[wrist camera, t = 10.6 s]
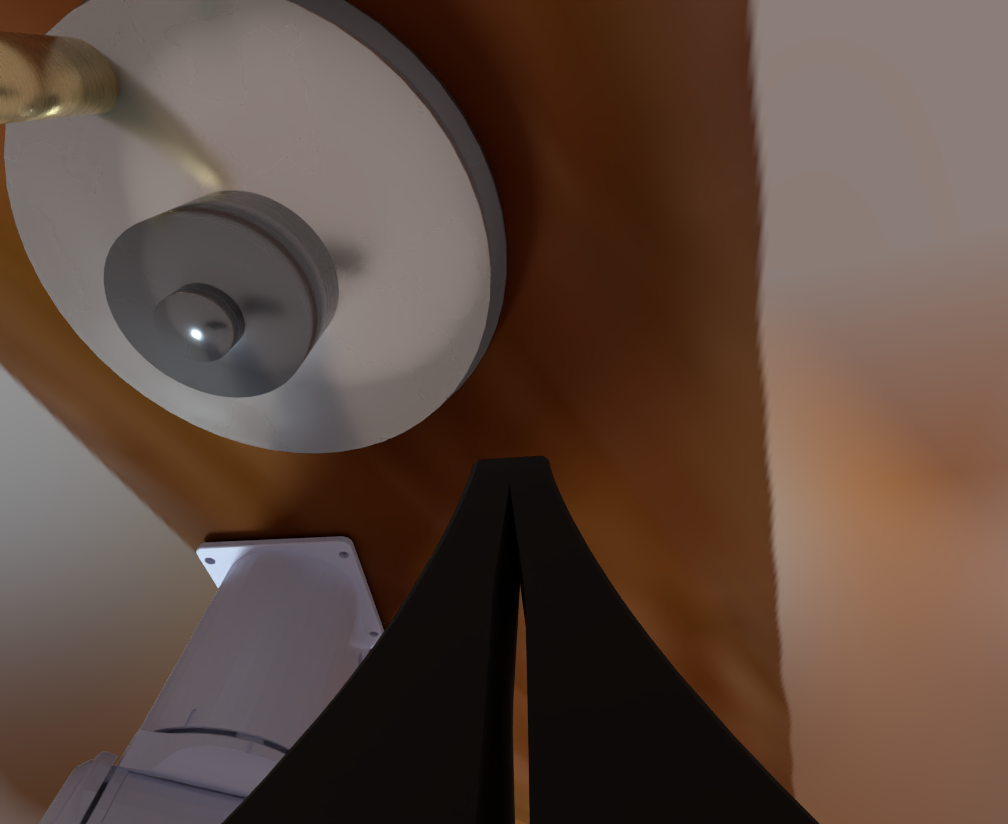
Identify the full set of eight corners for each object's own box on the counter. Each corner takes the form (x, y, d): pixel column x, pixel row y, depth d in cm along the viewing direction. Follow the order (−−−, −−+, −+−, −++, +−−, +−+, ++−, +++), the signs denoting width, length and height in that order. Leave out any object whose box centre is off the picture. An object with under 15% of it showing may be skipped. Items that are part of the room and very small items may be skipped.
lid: (371, 305, 16) (338, 362, 13) (258, 373, 17) (203, 440, 14) (255, 153, 14) (178, 178, 10) (134, 247, 15) (35, 294, 12)
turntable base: (518, 417, 21) (518, 431, 20) (177, 436, 22) (164, 450, 21) (486, -60, 13) (485, -69, 12) (-66, -6, 14) (-104, -11, 13)
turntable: (566, 329, 18) (583, 402, 14) (281, 482, 22) (232, 571, 18) (272, -172, 11) (143, -305, 7) (-58, 187, 15) (-253, 227, 11)
